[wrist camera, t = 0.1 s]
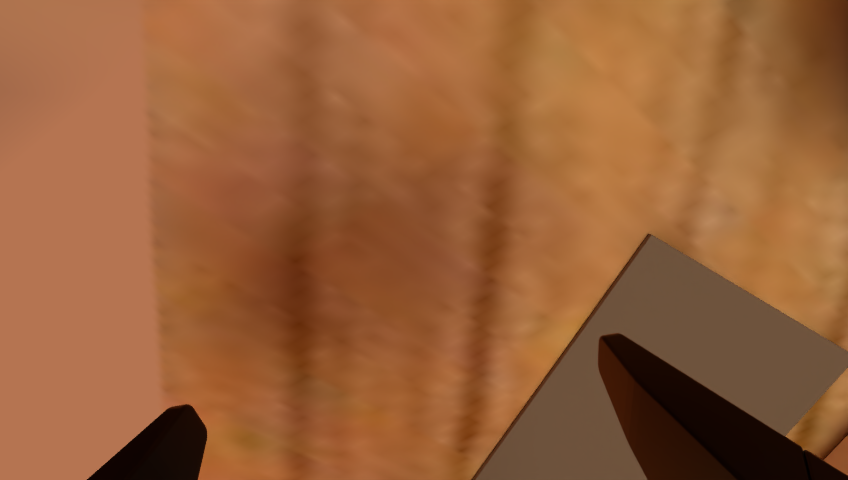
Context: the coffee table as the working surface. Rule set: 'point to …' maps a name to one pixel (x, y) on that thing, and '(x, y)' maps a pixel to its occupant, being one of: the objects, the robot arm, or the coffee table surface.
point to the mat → (677, 345)
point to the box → (839, 456)
